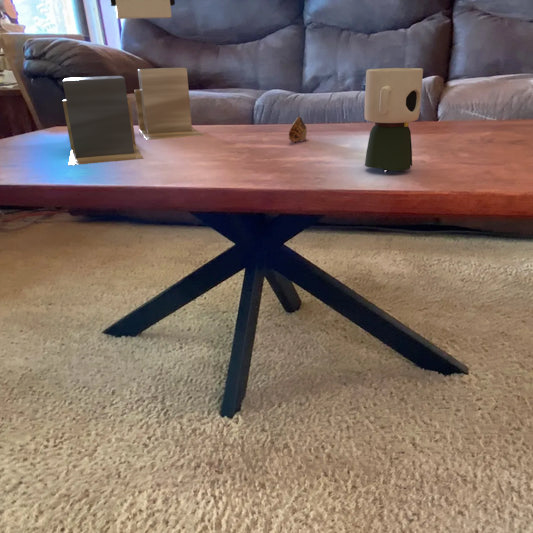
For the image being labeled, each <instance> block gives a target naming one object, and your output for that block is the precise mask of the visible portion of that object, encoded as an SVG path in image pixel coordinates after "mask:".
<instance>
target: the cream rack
mask: <svg viewBox="0 0 533 533" xmlns="http://www.w3.org/2000/svg"><path fill="white" fill-rule="evenodd" d="M137 76H138V85H139V88H138V89H134V92H133V93H134V99H135V100H134V101H135V106H136V107H135V108H136V114H137V123H138V132H139V135H140V136H141V138H145V140H146V141H151V140H152V141H153V140H164V139H178V138H189V137H190V138H191V137H202V136H205V134H204V133H202V132H201V131H199V130H197V129H196V128H194V127H193V125H192V112H191V100H190V90H189V80H188V78H189V77H188V68H187V67H161V68H138V69H137Z"/></svg>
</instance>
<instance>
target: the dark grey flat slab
mask: <svg viewBox="0 0 533 533" xmlns="http://www.w3.org/2000/svg"><path fill="white" fill-rule="evenodd" d="M62 86H63V92H64V97H65V99H63V100H62V107H63V111H64V117H65V122H66V123H65V124H66V128H67V133H68V140H69V146H70V154H69V159H68V166H78V165H89V164H101V163H112V162H122V161H134V160H144V156H143V154H142V153H141V151H140V149H139V147H138V146H137V143H136V136H135V126H134V121H133V111H132V105H131V104H132V103H131V98H130V96H128V93H127V85H126V78H125V77H124V76H122V75H108V76H107V75H105V76H83V77H66V78H64V79H63V80H62Z"/></svg>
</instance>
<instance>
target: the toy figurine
mask: <svg viewBox="0 0 533 533" xmlns="http://www.w3.org/2000/svg"><path fill="white" fill-rule="evenodd" d="M365 73H366V74H365V90H364V110H363V111H364V113H363V114H364V115H363V116H364V117H363V118H364V120H365V121H368V122H369V123H374V125H373V126H372V127H371V130H370V131H369V136H368V142H367V148H366V153H365V161H364V166H365V167H366V168H372V169H380V170H381V169H382V170H388V171H391V172H399V171H406V170H407V171H408V170H410V169H411V167H413V147H412V146H413V145H412V132H411V129H410V126H409V124H410V123H413V122H415V121H417V120H419V117H420V112H421V104H422V90H423V89H422V88H423V77H424V68H418V67H389V68H388V67H387V68H371V69H366V70H365Z"/></svg>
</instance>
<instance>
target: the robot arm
mask: <svg viewBox="0 0 533 533" xmlns="http://www.w3.org/2000/svg"><path fill="white" fill-rule="evenodd" d="M170 5H171V7H173V6H174V5H176V1H175V0H170ZM110 6H111V7H116V0H110Z"/></svg>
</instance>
